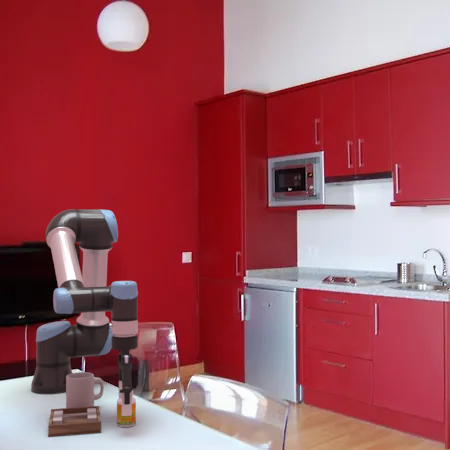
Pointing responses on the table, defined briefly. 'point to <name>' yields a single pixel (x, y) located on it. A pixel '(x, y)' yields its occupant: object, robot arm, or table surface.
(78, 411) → the walled box
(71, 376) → the mug
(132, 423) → the supplement bottle
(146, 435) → the table surface
